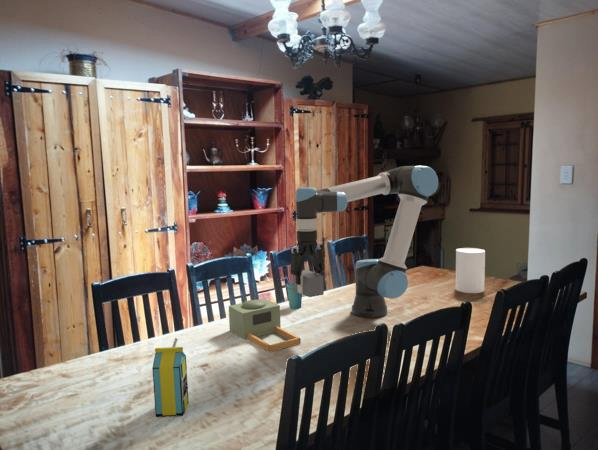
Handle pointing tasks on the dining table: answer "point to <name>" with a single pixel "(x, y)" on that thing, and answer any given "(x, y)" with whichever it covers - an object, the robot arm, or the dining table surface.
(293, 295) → the cup
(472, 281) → the canister
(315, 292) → the grey concrete block
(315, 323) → the dining table surface
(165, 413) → the carton
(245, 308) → the green box with frame
